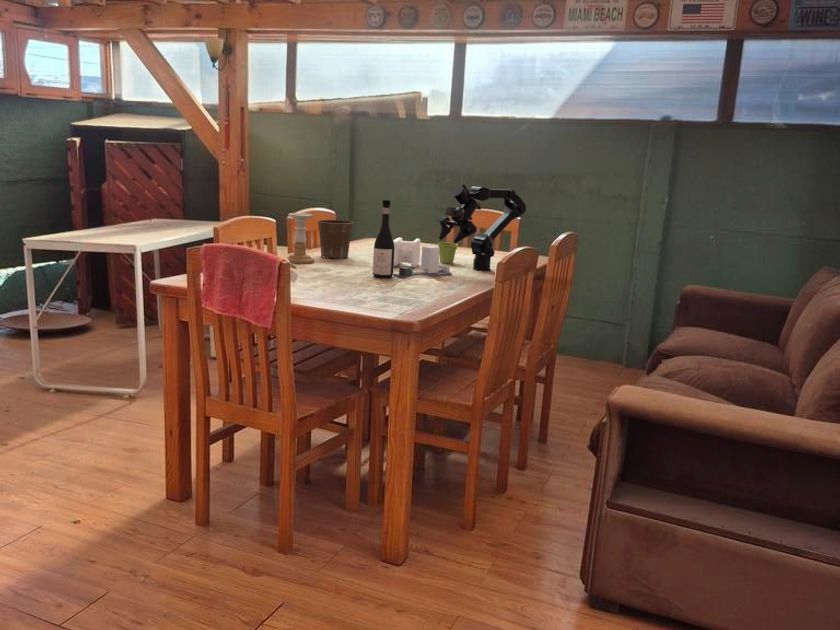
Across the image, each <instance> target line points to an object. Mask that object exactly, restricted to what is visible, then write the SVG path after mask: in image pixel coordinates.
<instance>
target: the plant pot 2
mask: <svg viewBox="0 0 840 630" xmlns="http://www.w3.org/2000/svg"><path fill="white" fill-rule="evenodd" d="M458 246H459V244H458V243H454V242H438V243H437V247H439V248H440V251H439V263H441V264H445V265H446V264H450V265H452V264H454V261H455V255H456V252H457V251H456V250H457V249H458Z"/></svg>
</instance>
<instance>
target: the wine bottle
mask: <svg viewBox="0 0 840 630" xmlns="http://www.w3.org/2000/svg"><path fill="white" fill-rule="evenodd" d="M381 203H382V217H381V225H380V229H379V232H378V234H377V235H376V238H375V241H374V245H373V256H372V257H373V258H372V259H373V260H372V275H373V277H375V278H379V279H390V278H392V277H394V276H393V274H394V267H395V266H394V242H393V241H394V238H393V235H392V233H391V229H390V206H391V200H390V199H382V202H381Z"/></svg>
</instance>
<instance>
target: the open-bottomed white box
mask: <svg viewBox="0 0 840 630" xmlns="http://www.w3.org/2000/svg"><path fill="white" fill-rule="evenodd" d="M439 251H440V248H439V246H434V245H428V246H427V245H426V246H425V245H423V246H422V247H421V263H420V271H423V270H427V273H429V274H430V273H438V266H439V265H440V255H439Z"/></svg>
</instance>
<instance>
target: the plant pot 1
mask: <svg viewBox="0 0 840 630" xmlns="http://www.w3.org/2000/svg"><path fill="white" fill-rule="evenodd" d="M316 221H317V225H318V231H319V243H320V244H319V245H320V256H321V257H322V256H324V257H328V258H327V259H331V258H333V259H334V258H337V259H339V258H342V259H347V258H349V251H350V242H351V233H352V230H353V225H354V223H355V222H354V221H350V220H345V219H344V220H342V219H341V220H340V219H321V220H320V219H318V220H316ZM324 257H323V258H324Z"/></svg>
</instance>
